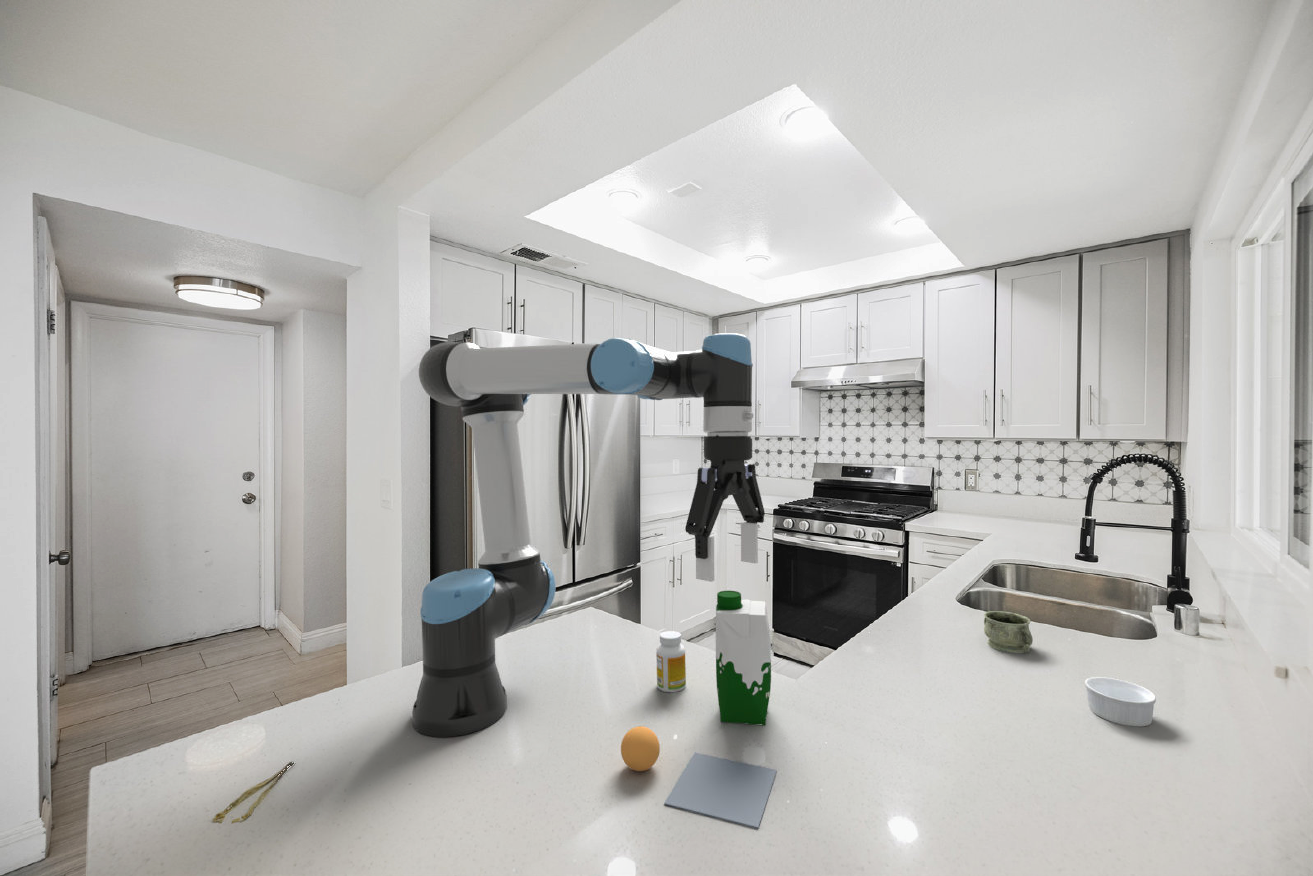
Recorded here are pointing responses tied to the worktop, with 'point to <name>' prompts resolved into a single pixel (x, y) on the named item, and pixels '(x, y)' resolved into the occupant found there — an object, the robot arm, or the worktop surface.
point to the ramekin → (1120, 701)
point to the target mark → (723, 789)
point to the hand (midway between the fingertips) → (728, 570)
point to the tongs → (249, 793)
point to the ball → (640, 748)
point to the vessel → (1007, 631)
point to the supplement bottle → (671, 662)
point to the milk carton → (742, 659)
